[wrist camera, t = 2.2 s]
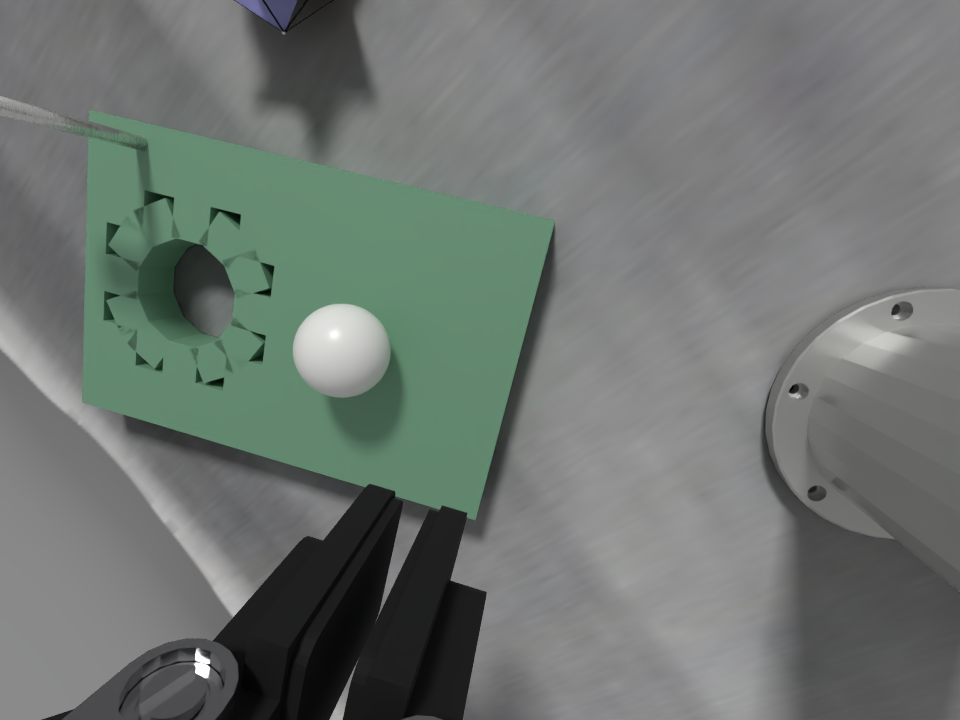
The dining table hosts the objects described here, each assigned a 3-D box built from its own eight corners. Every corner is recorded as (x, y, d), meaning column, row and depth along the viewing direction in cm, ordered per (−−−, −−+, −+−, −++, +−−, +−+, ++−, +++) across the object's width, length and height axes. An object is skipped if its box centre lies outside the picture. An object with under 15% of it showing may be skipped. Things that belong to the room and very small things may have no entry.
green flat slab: (554, 224, 24) (555, 220, 22) (481, 497, 28) (475, 520, 26) (131, 122, 26) (89, 109, 24) (119, 390, 30) (82, 402, 28)
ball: (410, 311, 23) (379, 324, 19) (393, 393, 25) (360, 422, 20) (328, 290, 24) (279, 297, 20) (315, 370, 25) (266, 395, 21)
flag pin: (185, 148, 26) (-31, 86, 16) (184, 161, 26) (-31, 107, 16) (128, 134, 26) (-118, 65, 17) (127, 147, 26) (-117, 87, 17)
